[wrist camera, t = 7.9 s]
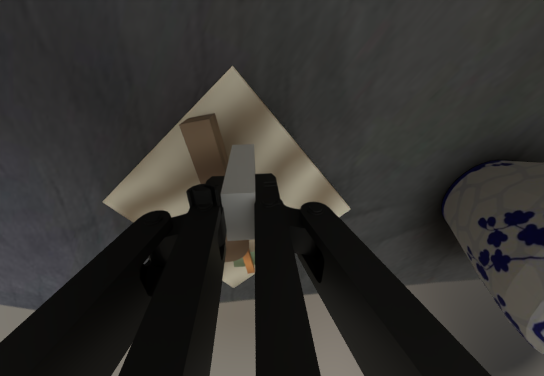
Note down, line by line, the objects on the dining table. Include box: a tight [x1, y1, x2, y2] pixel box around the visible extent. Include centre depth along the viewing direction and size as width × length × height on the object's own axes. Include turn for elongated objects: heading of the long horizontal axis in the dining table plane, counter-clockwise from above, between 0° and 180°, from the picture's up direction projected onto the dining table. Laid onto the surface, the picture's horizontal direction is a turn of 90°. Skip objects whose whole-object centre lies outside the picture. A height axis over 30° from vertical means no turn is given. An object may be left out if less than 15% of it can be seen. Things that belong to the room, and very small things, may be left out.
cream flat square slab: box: [103, 66, 351, 288], centre depth 28 cm, size 22×22×1 cm
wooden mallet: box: [179, 113, 255, 274], centre depth 24 cm, size 22×4×7 cm, turn 10°
